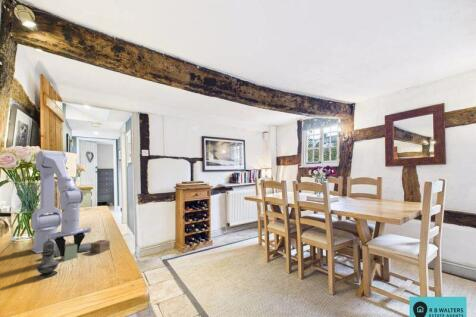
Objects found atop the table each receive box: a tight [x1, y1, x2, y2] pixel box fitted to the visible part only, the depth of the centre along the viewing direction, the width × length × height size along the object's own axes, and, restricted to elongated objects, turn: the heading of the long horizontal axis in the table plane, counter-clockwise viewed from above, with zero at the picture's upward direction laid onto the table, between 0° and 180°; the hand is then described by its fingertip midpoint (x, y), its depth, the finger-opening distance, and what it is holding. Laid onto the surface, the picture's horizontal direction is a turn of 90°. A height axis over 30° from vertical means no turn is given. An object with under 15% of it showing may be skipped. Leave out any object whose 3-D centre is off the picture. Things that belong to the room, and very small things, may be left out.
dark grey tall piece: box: [35, 239, 60, 280], centre depth 75 cm, size 6×6×12 cm
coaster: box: [78, 242, 92, 253], centre depth 101 cm, size 10×10×1 cm
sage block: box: [60, 242, 78, 261], centre depth 90 cm, size 4×4×5 cm
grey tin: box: [54, 243, 61, 259], centre depth 92 cm, size 4×4×5 cm
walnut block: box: [89, 239, 111, 254], centre depth 98 cm, size 5×5×4 cm
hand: (69, 254), depth 90 cm, fingers closed on sage block, 4 cm apart
